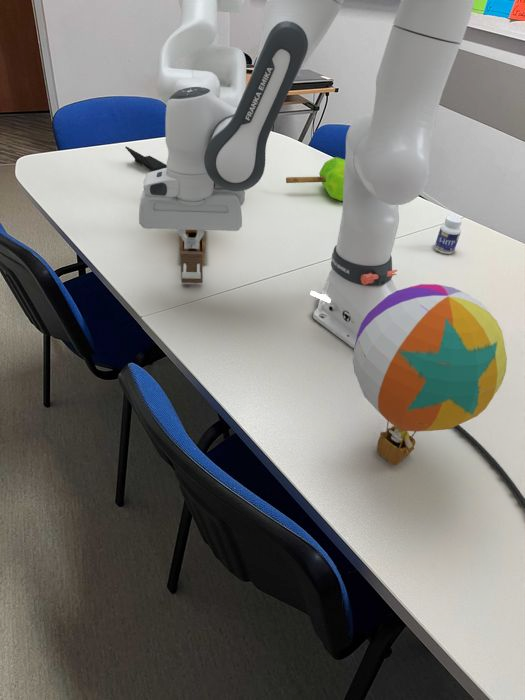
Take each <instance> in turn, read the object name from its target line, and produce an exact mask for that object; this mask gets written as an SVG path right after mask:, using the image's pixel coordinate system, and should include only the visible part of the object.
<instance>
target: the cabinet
mask: <svg viewBox="0 0 525 700" xmlns="http://www.w3.org/2000/svg"><path fill="white" fill-rule="evenodd" d="M186 232H192V233H197V230H186ZM181 251H184V241H183V240H182V238H181V237H180V236H179V264H180V265H181ZM200 252H203V266H205V265H206V230H204V235H203V237H202V238H201V240H200Z"/></svg>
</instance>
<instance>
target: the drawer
mask: <svg viewBox="0 0 525 700" xmlns="http://www.w3.org/2000/svg"><path fill="white" fill-rule="evenodd" d="M185 234H186V235H187V237H188V238H195V237H196V236H197V233H192V232H186V233H185ZM203 266H204V265H203V252H200V241H199V249H185V248H184V251H181V264H180V279H181V283H182V284H203V277H204V276H203V275H204V274H203V269H204V268H203Z"/></svg>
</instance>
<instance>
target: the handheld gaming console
mask: <svg viewBox="0 0 525 700" xmlns="http://www.w3.org/2000/svg"><path fill="white" fill-rule="evenodd" d="M125 149H126V151H128V153H129V154H130V156H132V158H133V159H134V162H135V163H137V164H139V165H141V166H143V167H145V168H146V169H147V170H150V172H152V171H156V170H160V169H163V168H167V163H164V162H162V161H161V160H159V159H157V158H155V157H153V156H151V155H145V156H144V155H142V154H141V153H139V152H137V151H136V150H134V149H132V148H130V147H128V146H125Z"/></svg>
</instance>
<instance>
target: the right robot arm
mask: <svg viewBox="0 0 525 700" xmlns="http://www.w3.org/2000/svg"><path fill="white" fill-rule="evenodd" d="M344 1H345V0H266V1H265V5H264V11H263V16H262V23H261V32H260V40H259V46H258V52H257V56H256V60H255V63H254V67H253V69H252V72H251V74H250V76H249V79H248V80H247V81H248V82H247V83H246V88H245V91H244V93H243V95H242V98H241V100H240V102H239V105H238V107H237V108H235V107H233V106H231V105H229V104H227V103H225V102H224V101H222V100H221V99H219V98H218V97H217V96H216V95H214V93H213V92H212V91H211V90H209V89H207V88H203V87H190V88H185V89H182V90H178V91H177V92H175V93H174V94H173V95H172V96H171V97H170V98H169V100H168V102H167V104H166V108H165V118H164V119H165V121H164V123H165V124H164V129H165V130H164V131H165V133H164V134H165V135H164V136H165V137H164V138H165V145H166V148H167V152H168V153H167V160H166V165H167V168H163V169H160V170H156V171H149V172H147V173H146V175H145V176H144V178H143V182H142V183H143V185H142V187H143V191H142V193H141V196H140V201H139V202H140V203H139V210H138V223H139V225H140V226H141V228H143V229H148V230H149V229H151V230H152V229H154V230H178V236H179V238H180V237H181V238H182V240H183V241H184V248H185V249H199V241H200V240H201V238H202V237H203V235H204V230H205V231H219V232H220V231H222V232H224V231H225V232H238V231H240V229H241V228H242V227H243V215H242V206H243V205H244V203H245V199H246V192H245V191H246V190H250V189H251V188H253V187H255V186H256V184H258V183H259V182H260V180H261V179H262V177H263V176H264V172H265V169H266V168H265V167H266V151H267V150H266V149H267V143H268V139H269V136H270V133H271V131H272V129H273V127H274V125H275V123H276V120H277V118H278V116H279V114H280V112H281V110H282V107H283V105H284V103H285V101H286V99H287V97H288V94H289V92H290V90H291V88H292V86H293V85H294V82H295V80H296V79H297V77H298V76H299V74H300V73H301V71H302V69H303V68H304V66H305V65H306V63H308V61H309V59H310V58H311V56H312V55H313V53H314V52H315V50H316V49H317V47H318V46H319V45H320V43H321V42H322V40H323V39H324V37H325V36H326V34H327V33H328V31H329V29H330V28H331V26H332V24H333V23H334V21H335V19H336V17H337V15H338V14H339V12H340V10H341V8H342V6H343V4H344ZM475 2H476V0H400V2H399V6H398V8H397V10H396V14H395V16H394V20H393V22H392V26H391V30H390V33H389V36H388V39H387V43H386V45H385V48H384V52H383V54H382V58H381V62H380V65H379V68H378V71H377V75H376V80H375V97H374V104H373V112H368V113H364V114H362V115H359V116H358V117H357V118H355V119H354V121H353V122H352V123H351V124H350V125H349V128H348V130H347V132H346V135H345V158H344V160H345V169H344V186H343V201H342V210H341V218H340V223H339V230H338V235H337V240H336V245H335V246H333V247H334V248H333V251H332V253H331V254H332V255H331V262H330V266H331V269H330V271H329V274H328V276H327V277H326V280H325V282H324V284H323V285H324V286H323V288H322V290H321V291H322V292H321V294H320V293H318V292H316V291H313V290H311V291H310V296H312V297H316V298H317V299H319V301H318V303H317V307H316V309H315V310H314V311H313V315H312V318H313V319H314V320H315V321H316V322H317V323H319V324H320V325H321V326H323V327H324V328H325V329H327V330H328V331H330V332H331V333H332V334H333V335H335V336H336V337H338V338H339V339H340V340H342V342H344V343H346V344H347V345H348V346H349V347H351V348H352V349H354V347H355V343H356V338H357V334H358V331H359V328H360V326H361V323H362V322H363V320H364V319H365V317H366V316H367V314H368V313H369V312H370V311H371V310H372V309H373V308H374V307H376V306H377V305H378V304H379V303H380V302H381V301H382V300H384V299H385V298H386V297H387V296H388V295H390V294H392V293H394V292H396V291H398V289H397V287H396V285H395V283H394V280H393V276H397V273H396V272H398V269H393V258H392V252H393V248H394V244H395V241H396V237H397V233H398V228H399V225H400V213H399V206H402V205H405V204H409V203H411V202H412V201H414V200H416V199H417V198H418V197H419V196H420V195H421V194H422V193H423V192H424V191H425V189H426V187H427V185H428V182H429V179H430V176H431V174H430V173H431V171H430V170H431V169H430V153H431V146H432V142H433V141H432V140H433V136H434V131H435V125H436V121H437V115H438V111H439V107H440V102H441V98H442V96H443V92H444V89H445V87H446V84H447V81H448V79H449V77H450V73H451V71H452V68H453V65H454V63H455V60H456V58H457V55H458V51H459V49H460V47H461V45H462V44H461V43H462V42H463V39H464V37H465V34H466V31H467V28H468V25H469V22H470V20H471V15H472V12H473V8H474V5H475ZM214 188H215V189H214ZM186 230H197V236H196V237H195V238H188V237H187V235H186V234H185V233H186ZM453 428H454V429H455V430H457V431H458V432H459V433H460V434H461V435H462V436H463V437H464V438H465V439H467V440H468V441H469V443H471V444H472V445H473V446H474V447H475V448H476V449H477V450H478V451H479V452H480V453H481V454H482V455H483V457H485V458H486V459H487V461H488V462H489V463H490V464H491V466H493V468H494V469H495V470H496V471H497V472H498V474H499V475H500V476H501V477H502V479H503V480H504V481H505V483H506V485H507V486H508V487H509V488H510V490H511V491H512V492H513V494H514V495H515V497H516V499H517V500H518V501H519V503H520V504H521V506H522V507H523V509H524V510H525V497H524V495H523V494H522V493H521V491H520V490H519V488H518V486H516V484H515V483H514V481H513V480H512V479H511V477H510V476H509V475H508V473H507V472H506V470H504V468H503V467H502V466H501V465H500V464H499V462H498V461H497V460H496V459H495V458H494V457H493V456H492V455H491V453H490V452H488V450H486V448H485V447H484V446H483V445H481V443H480V442H479V441H478V440H477V439H476V438H475V437H474V436H473V435H471V434H470V433H469V432H468V431H467V430H466V429H465V428H463V426H461V424H459V425H457V426H455V427H453Z"/></svg>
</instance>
